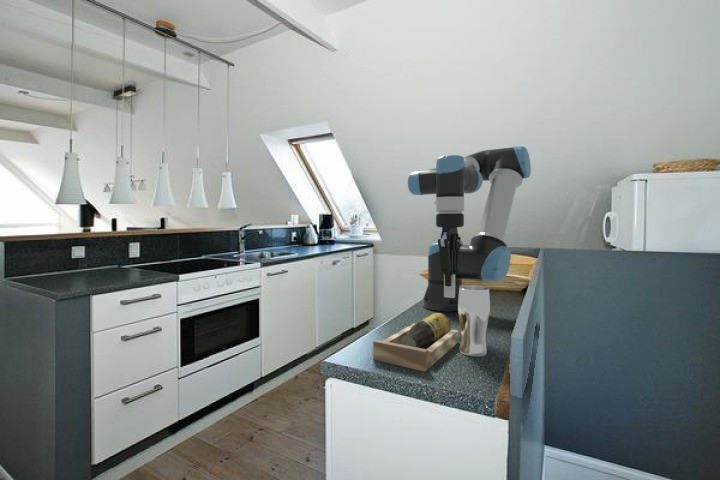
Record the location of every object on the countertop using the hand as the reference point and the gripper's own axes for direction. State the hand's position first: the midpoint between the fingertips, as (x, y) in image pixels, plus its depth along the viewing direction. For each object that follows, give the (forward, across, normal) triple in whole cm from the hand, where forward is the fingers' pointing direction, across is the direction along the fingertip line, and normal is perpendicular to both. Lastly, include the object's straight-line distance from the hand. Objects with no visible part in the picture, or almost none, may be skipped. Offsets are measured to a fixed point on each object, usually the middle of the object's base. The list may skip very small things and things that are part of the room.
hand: (449, 297), depth 104 cm
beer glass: (+9, +16, +11) cm, 21 cm away
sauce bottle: (+5, +7, 0) cm, 9 cm away
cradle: (+8, +22, 0) cm, 23 cm away
